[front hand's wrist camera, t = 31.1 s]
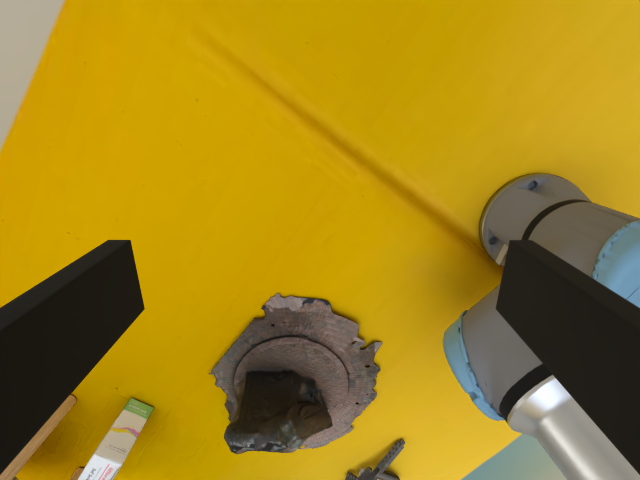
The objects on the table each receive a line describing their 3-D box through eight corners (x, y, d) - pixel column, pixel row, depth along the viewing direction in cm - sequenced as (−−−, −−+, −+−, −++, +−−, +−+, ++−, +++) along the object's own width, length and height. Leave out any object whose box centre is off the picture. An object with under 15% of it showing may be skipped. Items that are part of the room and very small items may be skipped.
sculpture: (164, 365, 64) (117, 444, 49) (320, 263, 57) (320, 319, 42) (276, 468, 74) (265, 560, 59) (422, 392, 66) (451, 475, 51)
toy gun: (357, 513, 75) (394, 544, 67) (334, 507, 71) (371, 539, 63) (386, 431, 81) (423, 450, 74) (366, 421, 77) (403, 440, 70)
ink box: (130, 395, 67) (81, 471, 53) (154, 407, 68) (112, 484, 54) (113, 424, 69) (61, 503, 55) (136, 434, 70) (91, 515, 56)
